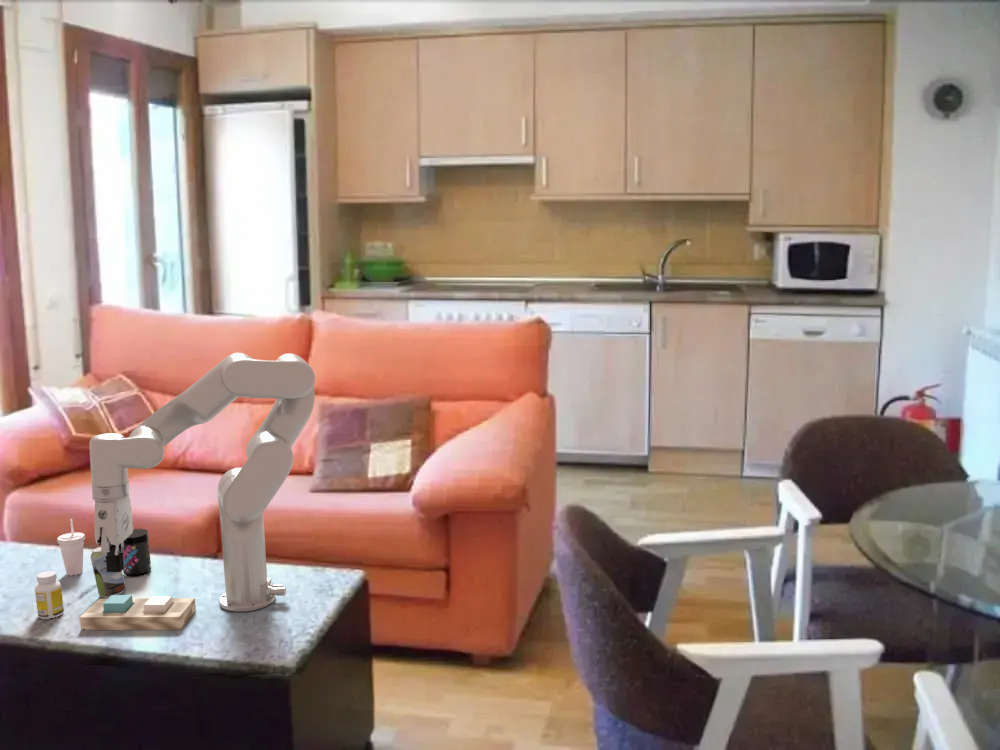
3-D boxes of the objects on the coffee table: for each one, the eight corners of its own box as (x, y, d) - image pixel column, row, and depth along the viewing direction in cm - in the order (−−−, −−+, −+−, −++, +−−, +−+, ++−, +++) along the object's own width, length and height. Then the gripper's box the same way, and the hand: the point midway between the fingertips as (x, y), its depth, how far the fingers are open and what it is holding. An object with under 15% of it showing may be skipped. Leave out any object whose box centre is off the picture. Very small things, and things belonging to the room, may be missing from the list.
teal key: (133, 607, 223) (132, 594, 223) (124, 616, 219) (123, 603, 218) (112, 607, 223) (111, 595, 223) (104, 616, 219) (103, 603, 218)
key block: (195, 610, 226) (194, 598, 225) (180, 629, 216) (179, 616, 215) (100, 611, 226) (99, 598, 226) (81, 630, 217) (79, 617, 216)
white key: (172, 608, 223) (171, 596, 222) (165, 617, 218) (164, 604, 218) (152, 608, 223) (151, 596, 222) (144, 617, 219) (143, 604, 218)
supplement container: (122, 570, 251) (118, 531, 249) (150, 565, 253) (146, 527, 252) (124, 579, 245) (120, 539, 243) (153, 574, 247) (149, 535, 246)
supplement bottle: (64, 608, 228) (60, 568, 226) (63, 617, 223) (59, 576, 221) (38, 612, 226) (34, 571, 225) (37, 621, 221) (32, 580, 220)
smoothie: (93, 571, 251) (88, 518, 248) (71, 579, 245) (65, 525, 243) (78, 566, 254) (72, 514, 251) (55, 574, 249) (49, 521, 246)
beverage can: (116, 601, 232) (112, 552, 229) (88, 599, 233) (83, 551, 231) (131, 590, 238) (127, 543, 235) (104, 589, 239) (99, 541, 237)
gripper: (114, 501, 208) (118, 584, 211) (140, 481, 223) (144, 559, 226) (78, 500, 208) (83, 583, 211) (107, 480, 223) (112, 558, 226)
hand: (115, 570), depth 219 cm, fingers closed
